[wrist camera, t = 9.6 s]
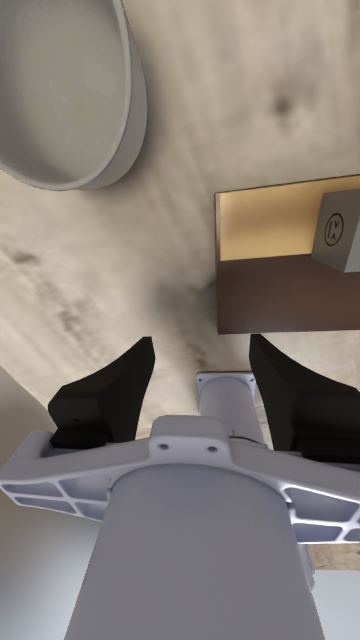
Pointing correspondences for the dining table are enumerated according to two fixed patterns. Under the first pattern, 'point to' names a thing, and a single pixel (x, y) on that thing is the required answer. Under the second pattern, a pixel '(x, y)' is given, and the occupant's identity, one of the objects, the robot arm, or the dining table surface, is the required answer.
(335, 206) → the dice cube
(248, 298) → the walnut board
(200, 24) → the dining table surface
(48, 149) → the teacup
